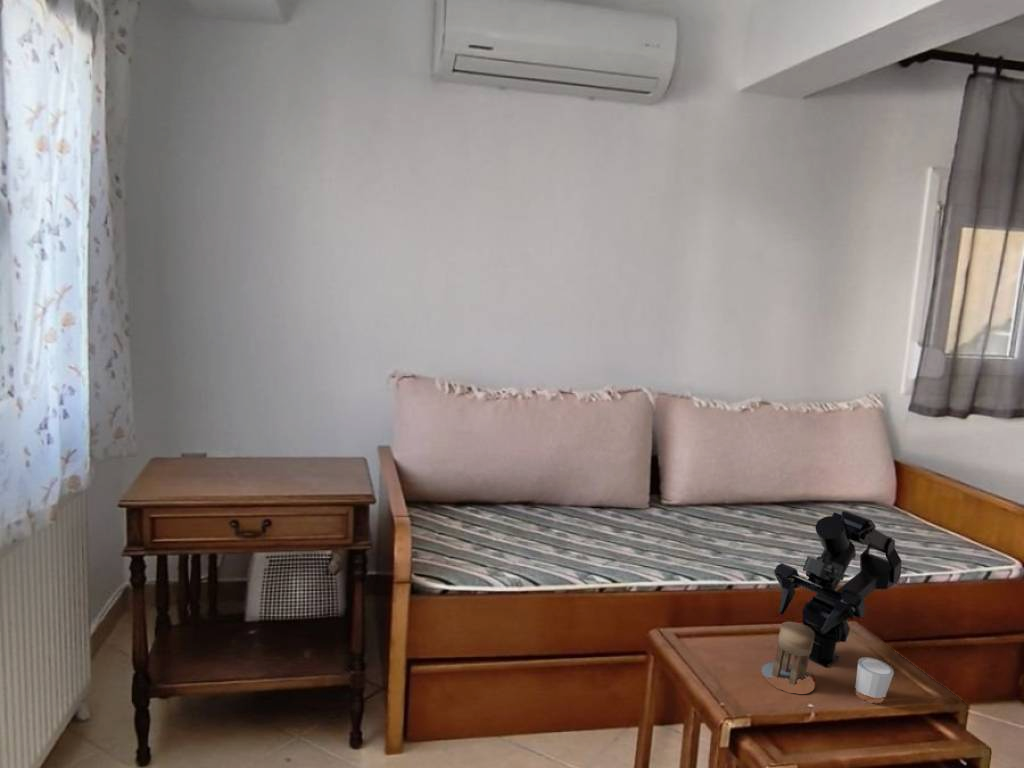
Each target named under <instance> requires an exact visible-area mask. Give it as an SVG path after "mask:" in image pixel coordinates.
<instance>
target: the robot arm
mask: <svg viewBox="0 0 1024 768" xmlns="http://www.w3.org/2000/svg"><path fill="white" fill-rule="evenodd" d="M815 532H816V535H817V537H818V539H819V541H820V543H821V544H820V545H821V546H822V548H823V549H824V550H823V551H822V553H821V555H818V556H817V557H816V558H813V557H810V556H807V557H806V560H805V563H804V565H803V568H802V571H803V572H805V576H806V577H807V578H806V577H802V576H801V575H799V572H798V570H797V568H794V567H793V566H790V565H788V564H785V563H783V562H782V563H779V564H777V565H776V566H775V569H774V570H773V573H774V576H775V578H776V581H777V583H778V584H779V585H780V586H781V599H780V605H779V615H781V616H783V615H784V614H785V612H786V610H787V609H788V607H789V605H790V604H791V602H792V600H793V598H794V596H795V594H796V590H795V589H797V588H798V586H799V587H802V588H803V589H807V590H809V591H811V592H813V593H816V594H815V595H813V596H812V598H811V599H810V600H807V602H806V603H805V604H804V606H803V608H802V624H803V625H806V626H808V627H809V628H811V629H812V630H813V631H814V633H815V637H814V642H813V647H812V651H811V654H810V656H809V660H811V661H813V662H816V663H818V664H819V665H821V666H823V667H825V668H827V667H828V666H830V665H832V664H833V663H835V662H837V661H839V660H840V655H838V654H835V652H836V648H837V647H836V646H837V644H838V643H840V642H841V643H846V642H847V638H848V636H849V634H850V630H851V627H850V626H849V625H850V624H849V623H848V621H847V620H848V619H851V620H854V619H855V618H858V619H862V618H863V617H864V615H865V614H866V613H865V612H866V610H867V608H866V604H865V601H864V600H865V598H867V597H868V596H869V595H870V594H871V593H872V592H874V591H877V590H888V589H890V588H892V587H893V586H894V585H896V584H897V583H898V582H899V581H900V578H901V575H902V559H901V557H900V555H899V554H898V552H897V550H896V540H895V539H894V538H893V537H892V536H888V535H887V534H884V533H883V532H881V531H879V530H877V529H876V524H875V523H874V521H873V520H872V519H870V518H867V517H864V516H862V515H858V514H856V513H853V512H850V511H847V510H842V511H841V513H838V512H835V511H834V512H833V514H832V515H827V516H823V517H822V518H820V519H819V520H817V522H816V524H815ZM853 542H854V543H857V544H860V545H863V546H864V545H867V547H866V548H865V550H863V552H861V554H860V556H859V558H860V559H859V561H860V562H859V572H858V573H857V574H855V575H854V576H853V577H852V578H850V579H849V580H848V581H847V582H846V583H845V584H843V585H841V586H840V587H839V584H840V583H841V582H843V581H844V579H845V573H846V571H847V569H848V568H849V566H850V563H851V562H852V560H853V559H855V558H856V552H857V551H856V547H855V545H854V543H853ZM871 549H873V550H875V551H879V552H882V553H884V554H885V558H883V557H880V556H878V555H875V554H873V553H870V550H871ZM838 587H839V588H838Z"/></svg>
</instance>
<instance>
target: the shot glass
mask: <svg viewBox="0 0 1024 768" xmlns="http://www.w3.org/2000/svg"><path fill="white" fill-rule="evenodd" d="M857 661H858V662H857V667H856V668H857V670H856V681H855V688H856V690H857V691H858V692H860V693H862V694H864V695H867V696H870V697H873V698H882V697H885V698H886V696H887V694H888V690H889V688H890V685H891V682H892V680H893V677H894V674H895V673H894V669H893V668H892V667H891V665H888V664H887V663H886V662H885V661H882V660H880V659H876V658H873V657H867V656H866V657H861V658H859V659H858V660H857ZM855 688H854V689H855Z"/></svg>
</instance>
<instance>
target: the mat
mask: <svg viewBox="0 0 1024 768" xmlns="http://www.w3.org/2000/svg"><path fill="white" fill-rule="evenodd" d="M774 662H775V661H772V662H767V663H765V664H764V665H762V667H761V671H760V673H761V672H762V674H763V676H766V677H767V678H768V677H774V678H775V676H773V675H772V672H773V667H774ZM792 665H793V664H789V669H788V670H787V671H786V672H785V671H783V670H781V673H780V676H779V677H780V678H781V677H782V678H783V679H785V678H787V679H788V680H789V679H790V674H791V669H792ZM762 674H761V675H762ZM805 676H806V677H808V676H809V677H810V676H811V674H809V672H807V671H806V675H805ZM779 677H776V678H779ZM806 677H805V678H806ZM782 678H781V679H782ZM798 679H799V678H798Z"/></svg>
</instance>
